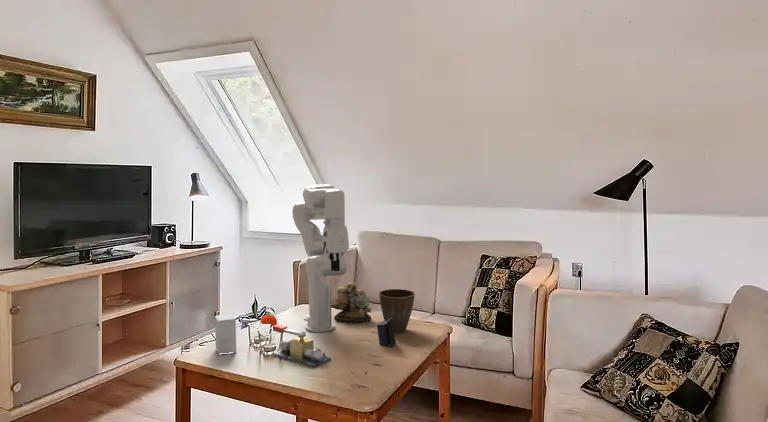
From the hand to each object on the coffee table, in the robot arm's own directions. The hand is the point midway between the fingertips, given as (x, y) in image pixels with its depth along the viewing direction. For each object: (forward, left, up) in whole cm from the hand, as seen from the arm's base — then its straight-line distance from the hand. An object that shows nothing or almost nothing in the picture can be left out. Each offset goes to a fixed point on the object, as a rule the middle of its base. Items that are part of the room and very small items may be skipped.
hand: (335, 270), depth 202 cm
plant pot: (+8, +29, -29) cm, 42 cm away
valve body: (0, -18, -29) cm, 34 cm away
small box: (-28, -30, -29) cm, 50 cm away
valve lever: (-6, -18, -21) cm, 29 cm away
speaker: (+15, +12, -29) cm, 35 cm away
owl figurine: (-18, +30, -29) cm, 46 cm away
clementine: (-35, -3, -29) cm, 46 cm away
